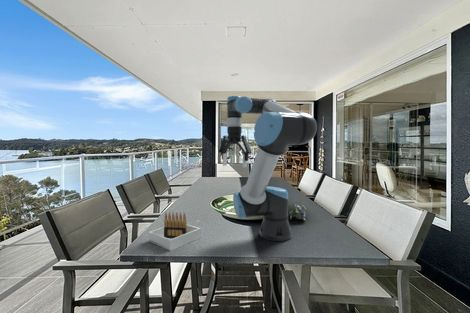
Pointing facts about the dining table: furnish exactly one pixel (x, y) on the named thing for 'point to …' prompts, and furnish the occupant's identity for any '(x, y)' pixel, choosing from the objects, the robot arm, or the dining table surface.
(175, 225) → the ammunition clip
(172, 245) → the tray
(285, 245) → the dining table surface
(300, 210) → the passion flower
